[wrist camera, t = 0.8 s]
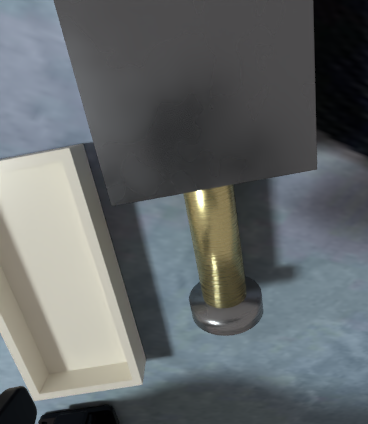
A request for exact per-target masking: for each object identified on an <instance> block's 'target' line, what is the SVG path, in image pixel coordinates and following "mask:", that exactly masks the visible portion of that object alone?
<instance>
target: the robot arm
mask: <svg viewBox="0 0 368 424" xmlns="http://www.w3.org/2000/svg"><path fill="white" fill-rule="evenodd" d="M36 415H37V409H36V406H35V404H34V402H33V400H32V398H31V396H30V395H29V393H28V391H27V389H26V388H25V387H23V386H19V387H14V388H9V389H7V390H5V391H4V392H3V393H2V394H1V395H0V424H35V420H36ZM38 423H39V424H119V421H118V419H117V416H116V413H115V410H114V408H113V407H112V406H109V405H106V406H99V407H92V408H86V409H79V410H72V411H66V412H59V413H52V414H46V415H42V416H41V418H40V420H39V422H38Z"/></svg>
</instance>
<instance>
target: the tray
mask: <svg viewBox="0 0 368 424" xmlns="http://www.w3.org/2000/svg"><path fill="white" fill-rule="evenodd" d="M0 333H1V335H2V337H3V339H4V341H5V343H6V345H7V347H8V349H9V351H10V353H11V355H12V357H13V359H14V361H15V363H16V365H17V367H18V369H19V371H20V373H21V375H22V377H23V379H24V381H25V383H26V385H27V388H28V390H29V392H30V394H31V396H32V398H33V400H34V401H38V400H45V399H51V398H58V397H64V396H71V395H78V394H84V393H91V392H97V391H104V390H111V389H117V388H124V387H130V386H137V385H143V378H144V370H145V362H146V357H145V354H144V350H143V347H142V343H141V340H140V337H139V333H138V330H137V326H136V323H135V319H134V316H133V313H132V309H131V306H130V302H129V299H128V295H127V292H126V289H125V285H124V282H123V278H122V275H121V272H120V268H119V265H118V261H117V258H116V254H115V251H114V248H113V244H112V241H111V237H110V234H109V230H108V227H107V224H106V220H105V217H104V213H103V210H102V207H101V203H100V200H99V196H98V193H97V189H96V186H95V183H94V179H93V176H92V172H91V169H90V165H89V162H88V159H87V155H86V152H85V148H84V145H83V144H78V145H73V146H67V147H62V148H57V149H51V150H46V151H41V152H36V153H30V154H25V155H20V156H15V157H9V158H4V159H0Z"/></svg>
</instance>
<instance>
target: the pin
mask: <svg viewBox="0 0 368 424" xmlns="http://www.w3.org/2000/svg"><path fill="white" fill-rule="evenodd" d="M183 194H184V199H185V204H186V210H187V215H188V220H189V226H190V231H191V236H192V241H193V247H194V252H195V257H196V263H197V268H198V273H199V279H200V282H199V283H198V284H197V285H196V286H195V287H194V288H193V289H192V291H191V293H190V296H189V301H190V306H191V311H192V316H193V319H194V321H195V323H196V324H197V326H198V327H200V328H201V329H202V330H204V331H206V332H208V333H211V334H215V335H235V334H239V333H243V332H245V331H247V330H249V329H251V328H252V327H254V326H255V325H256V324H257V323H258V322H259V320H260V319H261V317H262V314H263V303H262V294H261V289H260V287H259V285H258V284H257V283H256V282H255V281H254V280H252V279H251V278H248V277H246V276H245V275H244V267H243V259H242V251H241V243H240V235H239V228H238V220H237V212H236V204H235V196H234V188H233V185H227V186H222V187H216V188H211V189H205V190H199V191H194V192H188V193H183Z"/></svg>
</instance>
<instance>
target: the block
mask: <svg viewBox="0 0 368 424" xmlns="http://www.w3.org/2000/svg"><path fill="white" fill-rule="evenodd" d="M54 3H55V7H56V10H57V14H58V17H59V21H60V25H61V28H62V32H63V35H64V39H65V42H66V46H67V50H68V53H69V57H70V60H71V64H72V67H73V71H74V75H75V78H76V82H77V85H78V89H79V92H80V96H81V100H82V103H83V107H84V110H85V114H86V117H87V121H88V125H89V128H90V132H91V135H92V139H93V142H94V146H95V150H96V153H97V157H98V160H99V164H100V167H101V171H102V175H103V178H104V182H105V185H106V189H107V192H108V196H109V200H110V203H111V206H116V205H121V204H127V203H133V202H138V201H144V200H149V199H155V198H160V197H166V196H172V195H177V194H183V193H188V192H194V191H199V190H205V189H211V188H216V187H222V186H227V185H233V184H238V183H244V182H250V181H255V180H261V179H266V178H272V177H277V176H283V175H289V174H294V173H300V172H305V171H311V170H316V169H317V141H316V99H315V58H314V17H313V0H54Z"/></svg>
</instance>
